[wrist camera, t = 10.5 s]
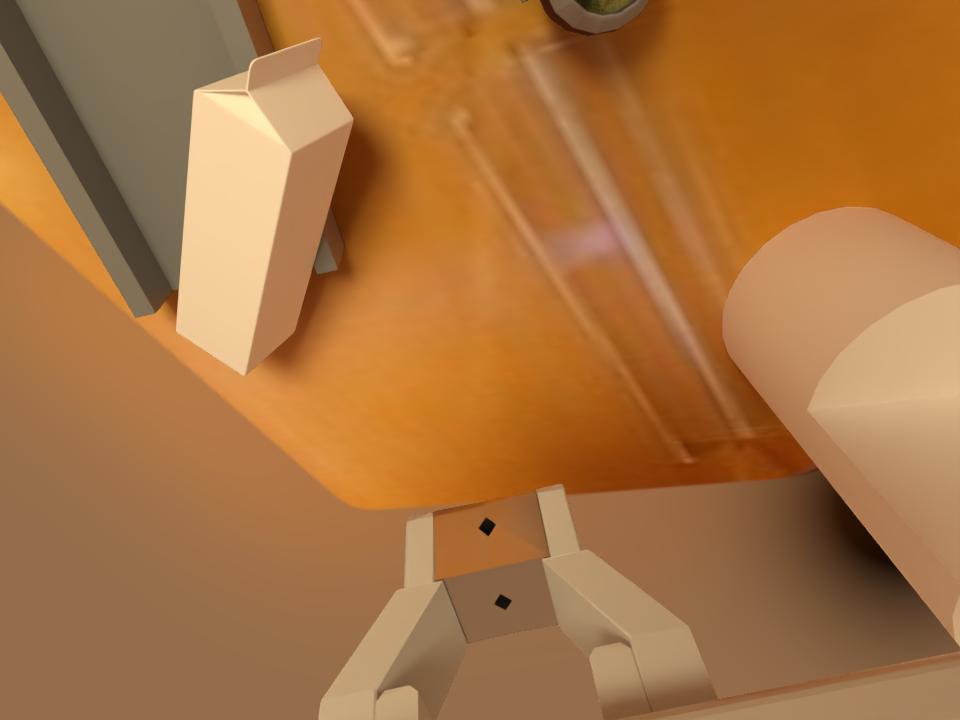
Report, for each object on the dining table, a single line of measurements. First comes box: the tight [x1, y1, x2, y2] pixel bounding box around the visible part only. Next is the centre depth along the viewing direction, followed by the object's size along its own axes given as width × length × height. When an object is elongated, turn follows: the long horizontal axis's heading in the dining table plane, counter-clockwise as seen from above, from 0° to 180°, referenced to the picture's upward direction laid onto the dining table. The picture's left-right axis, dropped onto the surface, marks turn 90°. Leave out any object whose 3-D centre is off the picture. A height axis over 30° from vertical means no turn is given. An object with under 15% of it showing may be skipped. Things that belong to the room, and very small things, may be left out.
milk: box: [176, 37, 354, 376], centre depth 39 cm, size 6×6×22 cm
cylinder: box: [722, 206, 960, 646], centre depth 42 cm, size 17×17×28 cm
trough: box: [0, 0, 345, 318], centre depth 39 cm, size 28×15×4 cm, turn 12°
